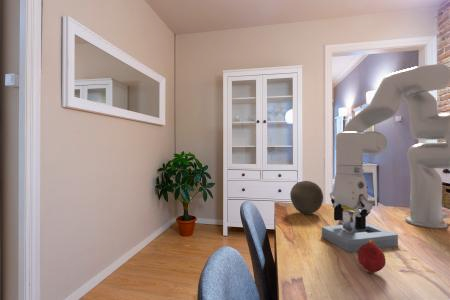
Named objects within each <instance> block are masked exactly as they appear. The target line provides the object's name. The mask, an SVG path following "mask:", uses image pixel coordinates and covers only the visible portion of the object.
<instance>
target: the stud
mask: <svg viewBox="0 0 450 300" xmlns="http://www.w3.org/2000/svg"><path fill="white" fill-rule="evenodd" d="M342 225H343V229H345V232H346V233H348V234H349V233H353V230H355V211H352V210H343V224H342Z"/></svg>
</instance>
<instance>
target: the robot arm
mask: <svg viewBox="0 0 450 300" xmlns="http://www.w3.org/2000/svg"><path fill="white" fill-rule="evenodd" d="M448 85H450V67H449V66H447V65H446V64H443V63H437V64H427V65H419V66H413V67H411V68H405V69H402V70H399V71H396V72H392V73H389V74H387V75H385V76H384V78H383V79H382V80H381V82H380V84H379V86H378V88H377V90H376V91H375V94H374V95H373V97H372V99H371V101H370V103H369V105H367V106H366V107H364V108H363V109H362V110H361V111H359V112H358V113H357V114H356V115H354V116H353V117H352V118H350V120H349V121H348V122H347V124H346V125H345V127H344V129H343V131H342V132H341V131H340V132H338V133H337V134H336V137H335V175H334V182H333V191H332V192H329V197H330V202H331V203H332V208H333V220H334V221H339V220H343V208H341V207H342V206H346V207H349V208H353V209H354V210H355V212H356V214H357V216H356V217H355V229H356V230H364V229H366V223H367V220H366V219H367V217H368V216H369V214H370V213H371V211H372V209H373V207H374V205H373V203H371V201H370V200H369V197H368V186H367V181H366V177H365V175H364V174H363V173H364V171H365V170H364V167H363V162H364V161H363V159H364V157H363V156H364V155H378V154H380V153H381V154H382V153H383V152H384V151H385V150H386V149H387V145H388V140H387V138H386V136H385V135H384V134H383V133H381V132H380V131H372V130H371V131H370V130H369V128H372V127H373V126H375V125H377V124H381V123H383V122H386V121H387V120H390V119H391V118H392V117H394V116H395V115H396V114H397V112H398V110H399V107H400V106H401V104H402V102H403V100H404V102H406V104H407V106H408V115H409V116H408V117H409V128H410V136H412V138H413V139H415V140H419V141H420V140H421V141H427V140H428V141H436V140H438V141H439V140H445V142H439V143H438V142H429V143H428V142H425V143H416V144H412V145H411V146H409V148H408V150H407V161H408V165H409V173H410V181H409V183H410V184H409V186H410V191H409V195H410V200H409V202H410V204H409V205H410V209H409V215H408V216H406V217H404V218H405V219H404V220H405V221H406V222H407V223H409V224H411V225H415V226H418V227H423V228H428V229H446V228H447V227H448V222H446V221H444V219H448V218H450V214H449V213H447V212H443V179H442V176H440V173H439V172H438V171H437V170H436V169H443V170H450V112H444V113H439V110H438V101H437V98H436V97H435V96H433V94H431V93H430V92H431V91H432V92H433V91H438V90H442V89H444V88H446V87H448ZM366 130H369V131H366Z"/></svg>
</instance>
